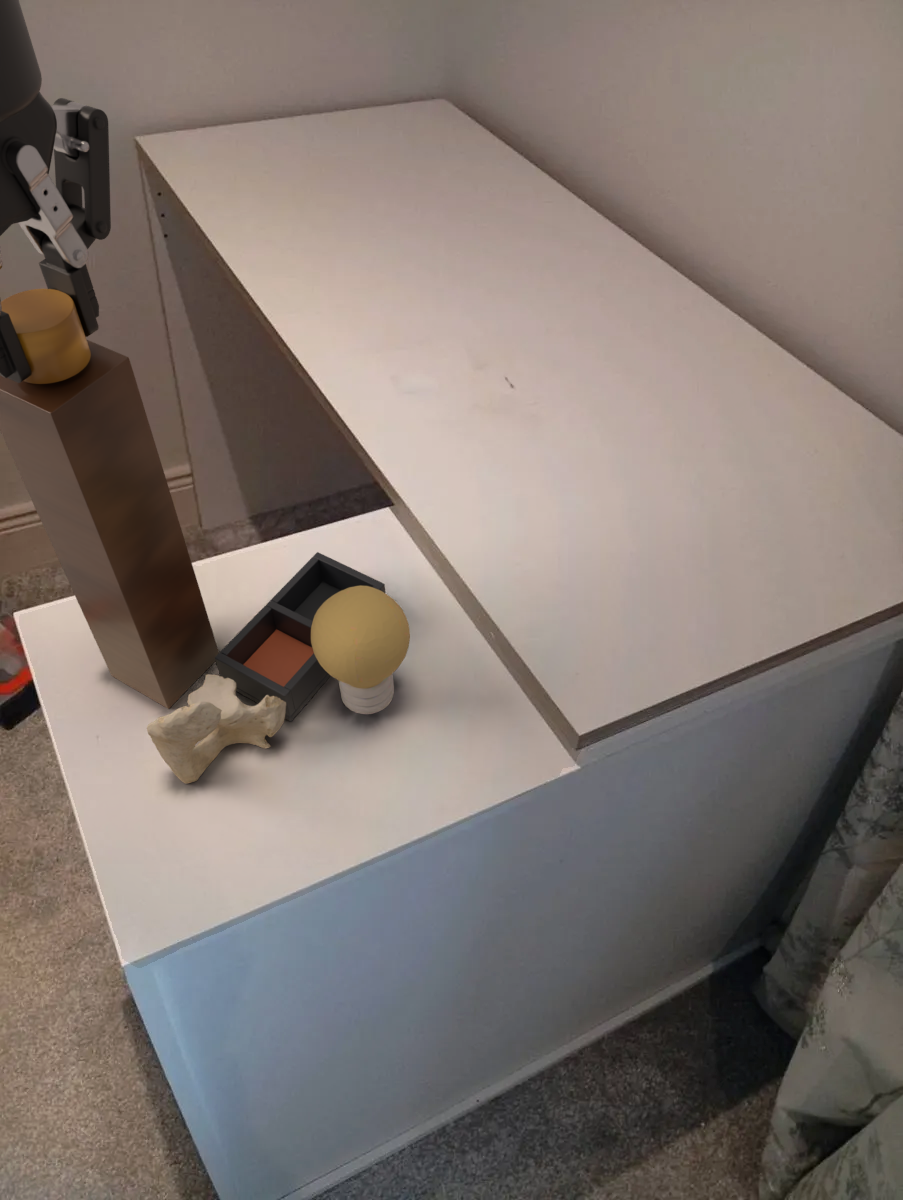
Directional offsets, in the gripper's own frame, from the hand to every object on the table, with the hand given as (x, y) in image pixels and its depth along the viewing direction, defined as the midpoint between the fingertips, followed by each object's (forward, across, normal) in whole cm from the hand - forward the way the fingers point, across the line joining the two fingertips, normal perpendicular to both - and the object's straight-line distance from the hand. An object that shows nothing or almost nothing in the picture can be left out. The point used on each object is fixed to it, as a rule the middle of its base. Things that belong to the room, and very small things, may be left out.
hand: (47, 350), depth 50 cm
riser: (+27, 0, 0) cm, 27 cm away
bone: (+27, +2, +8) cm, 28 cm away
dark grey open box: (+27, -7, +8) cm, 29 cm away
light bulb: (+27, -5, +14) cm, 31 cm away
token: (+1, 0, 0) cm, 1 cm away
